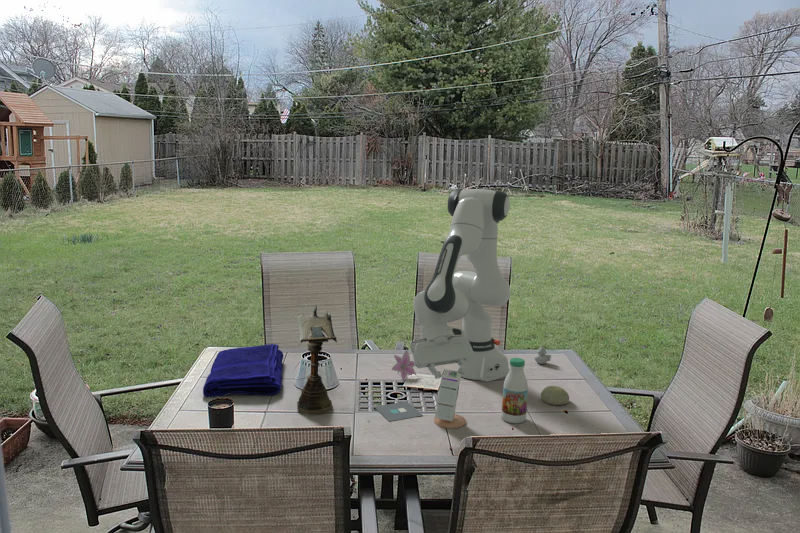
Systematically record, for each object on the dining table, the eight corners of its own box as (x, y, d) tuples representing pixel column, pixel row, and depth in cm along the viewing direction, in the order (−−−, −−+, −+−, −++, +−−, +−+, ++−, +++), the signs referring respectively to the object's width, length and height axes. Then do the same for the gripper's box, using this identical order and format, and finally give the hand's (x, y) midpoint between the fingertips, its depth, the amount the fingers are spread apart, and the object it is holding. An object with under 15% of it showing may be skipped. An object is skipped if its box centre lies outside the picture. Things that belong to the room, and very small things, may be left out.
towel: (201, 399, 215) (200, 374, 213) (216, 363, 249) (215, 341, 248) (281, 397, 219) (281, 372, 217) (284, 362, 253) (284, 340, 252)
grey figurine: (532, 361, 261) (534, 342, 260) (549, 361, 261) (550, 342, 260) (535, 365, 256) (537, 346, 254) (552, 366, 256) (553, 346, 254)
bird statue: (341, 420, 201) (342, 312, 195) (299, 423, 198) (299, 313, 192) (335, 399, 217) (336, 299, 210) (296, 401, 214) (295, 300, 208)
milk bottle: (498, 414, 209) (502, 355, 205) (522, 413, 210) (526, 355, 206) (504, 424, 201) (508, 363, 198) (528, 424, 202) (532, 363, 198)
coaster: (455, 412, 209) (455, 411, 209) (471, 425, 200) (471, 423, 200) (428, 417, 205) (428, 416, 205) (443, 430, 196) (443, 429, 196)
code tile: (406, 401, 217) (406, 401, 217) (423, 415, 206) (423, 415, 206) (374, 407, 212) (374, 406, 212) (388, 421, 201) (388, 420, 201)
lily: (386, 383, 236) (395, 366, 232) (384, 362, 245) (393, 346, 241) (413, 389, 239) (423, 373, 235) (410, 369, 248) (419, 353, 244)
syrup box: (452, 422, 199) (460, 378, 196) (434, 417, 200) (441, 374, 197) (454, 414, 205) (462, 372, 201) (436, 410, 205) (443, 368, 202)
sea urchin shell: (555, 404, 213) (545, 381, 217) (542, 414, 220) (533, 391, 223) (576, 399, 218) (566, 377, 222) (564, 409, 224) (554, 387, 228)
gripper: (411, 335, 200) (424, 376, 194) (467, 329, 209) (482, 367, 202) (404, 345, 205) (417, 384, 198) (460, 338, 214) (474, 376, 207)
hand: (450, 376), depth 200 cm, fingers closed on syrup box, 7 cm apart
